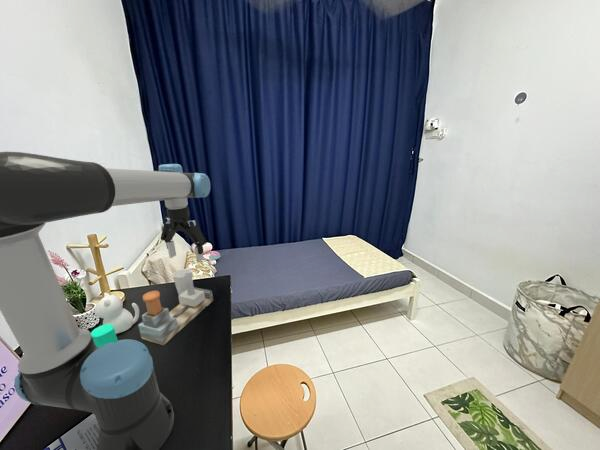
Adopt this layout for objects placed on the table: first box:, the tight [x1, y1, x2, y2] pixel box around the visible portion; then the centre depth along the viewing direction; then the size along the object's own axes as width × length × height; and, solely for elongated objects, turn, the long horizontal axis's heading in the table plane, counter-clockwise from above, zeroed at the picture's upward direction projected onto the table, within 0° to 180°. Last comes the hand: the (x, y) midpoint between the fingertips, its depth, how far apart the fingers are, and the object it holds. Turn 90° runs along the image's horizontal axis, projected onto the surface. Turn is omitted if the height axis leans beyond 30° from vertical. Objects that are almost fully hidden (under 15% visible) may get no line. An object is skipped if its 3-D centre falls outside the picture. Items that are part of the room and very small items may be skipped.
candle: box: [90, 324, 119, 348], centre depth 79 cm, size 6×6×12 cm
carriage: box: [178, 273, 205, 307], centre depth 102 cm, size 6×8×13 cm
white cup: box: [172, 268, 194, 296], centre depth 115 cm, size 8×8×10 cm
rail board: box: [137, 286, 214, 346], centre depth 97 cm, size 27×10×10 cm, turn 161°
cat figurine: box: [94, 292, 140, 335], centre depth 91 cm, size 9×12×15 cm
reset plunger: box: [142, 290, 162, 316], centre depth 85 cm, size 5×5×7 cm
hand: (186, 258), depth 98 cm, fingers open, 13 cm apart
